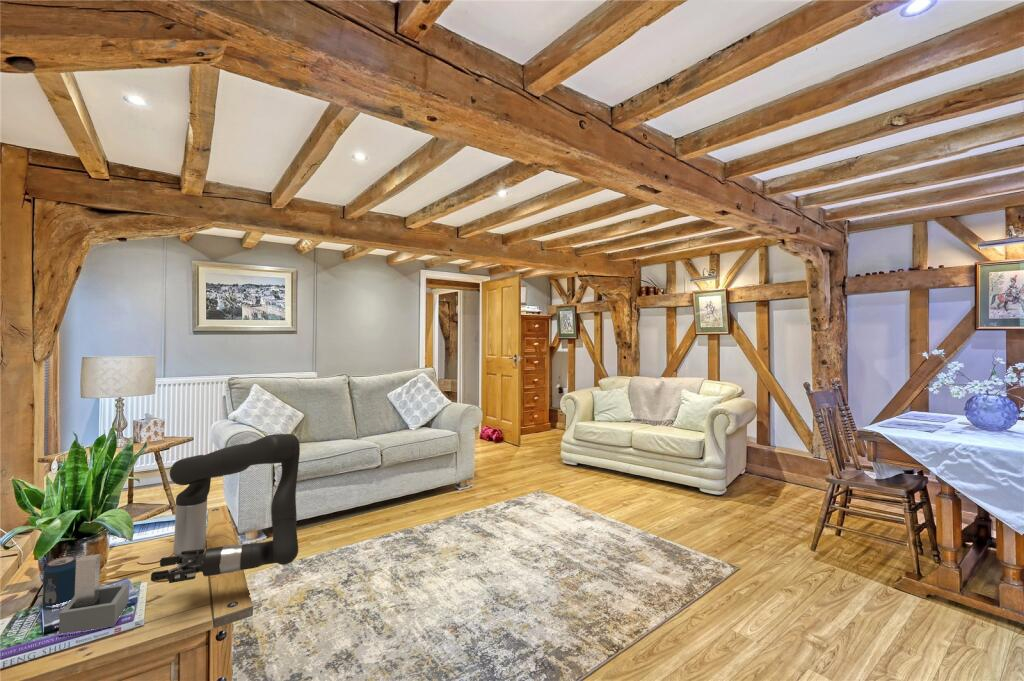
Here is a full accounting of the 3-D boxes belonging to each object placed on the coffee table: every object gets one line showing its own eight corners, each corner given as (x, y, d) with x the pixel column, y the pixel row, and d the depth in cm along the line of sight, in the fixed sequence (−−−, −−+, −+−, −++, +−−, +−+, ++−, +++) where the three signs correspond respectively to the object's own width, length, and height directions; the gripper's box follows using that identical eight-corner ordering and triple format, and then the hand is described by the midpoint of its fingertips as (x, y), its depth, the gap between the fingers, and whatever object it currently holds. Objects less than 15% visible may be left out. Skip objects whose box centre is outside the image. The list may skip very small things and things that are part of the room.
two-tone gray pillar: (78, 615, 122) (80, 556, 122) (99, 612, 124) (101, 553, 124) (72, 623, 119) (74, 562, 119) (93, 619, 121) (96, 559, 121)
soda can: (77, 593, 134) (79, 552, 134) (75, 604, 129) (77, 561, 129) (43, 601, 129) (45, 559, 129) (40, 613, 124) (42, 569, 124)
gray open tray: (78, 612, 125) (78, 590, 125) (128, 604, 129) (129, 583, 129) (58, 637, 115) (59, 613, 115) (114, 627, 120) (115, 604, 120)
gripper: (227, 537, 141) (163, 545, 134) (220, 558, 128) (148, 568, 121) (226, 561, 141) (162, 570, 134) (219, 584, 128) (147, 596, 121)
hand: (155, 569), depth 128 cm, fingers open, 8 cm apart
